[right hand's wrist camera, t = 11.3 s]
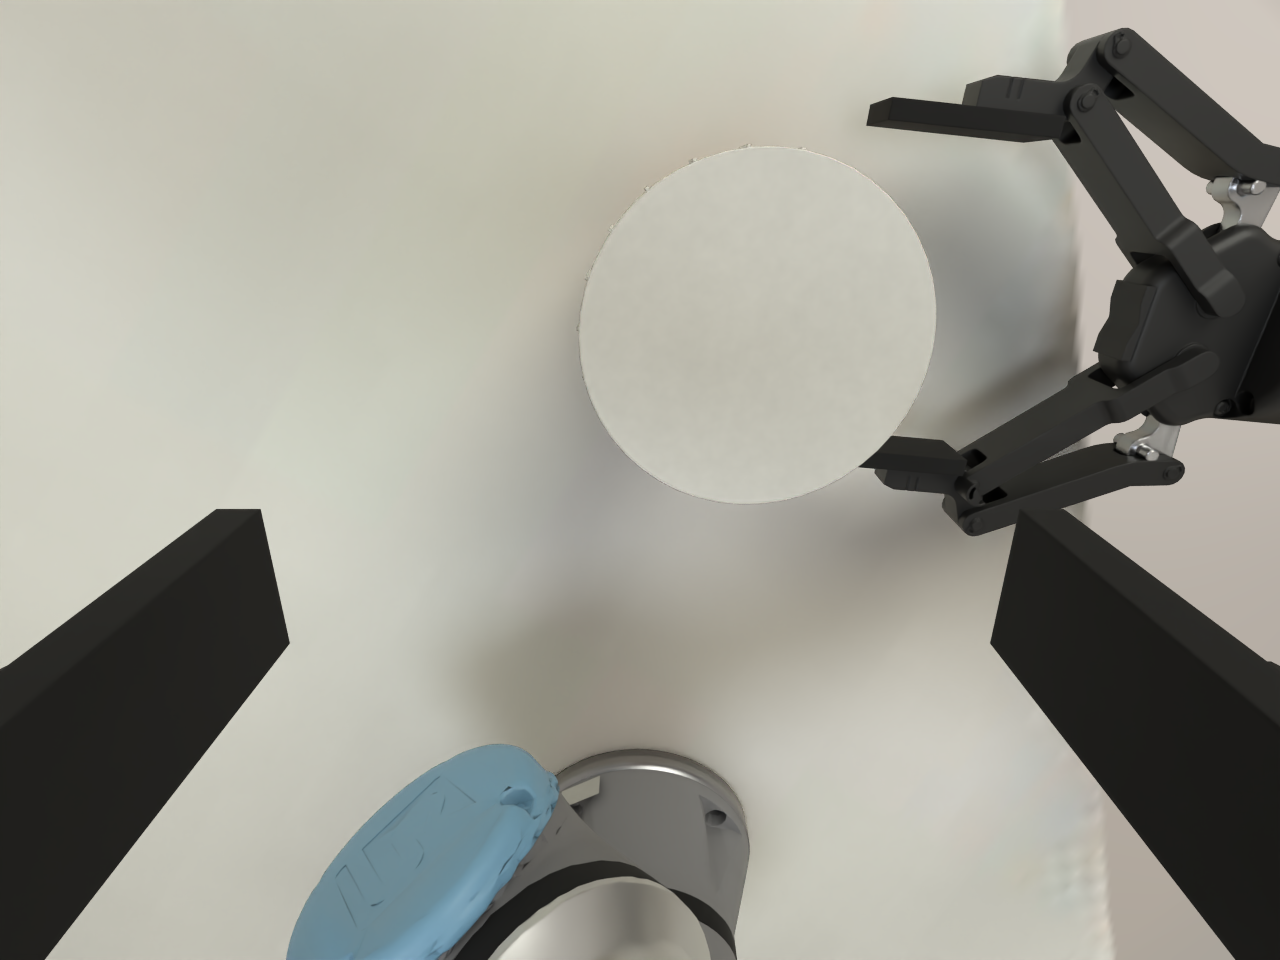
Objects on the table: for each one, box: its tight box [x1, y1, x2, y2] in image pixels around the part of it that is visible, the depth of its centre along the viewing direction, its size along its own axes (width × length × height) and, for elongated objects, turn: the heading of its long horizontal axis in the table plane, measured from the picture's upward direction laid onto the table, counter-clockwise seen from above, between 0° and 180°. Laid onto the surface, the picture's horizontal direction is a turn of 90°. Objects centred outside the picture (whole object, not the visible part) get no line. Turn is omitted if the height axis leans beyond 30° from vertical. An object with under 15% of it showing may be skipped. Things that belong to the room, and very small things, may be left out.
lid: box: [577, 144, 936, 504], centre depth 21 cm, size 10×10×2 cm
